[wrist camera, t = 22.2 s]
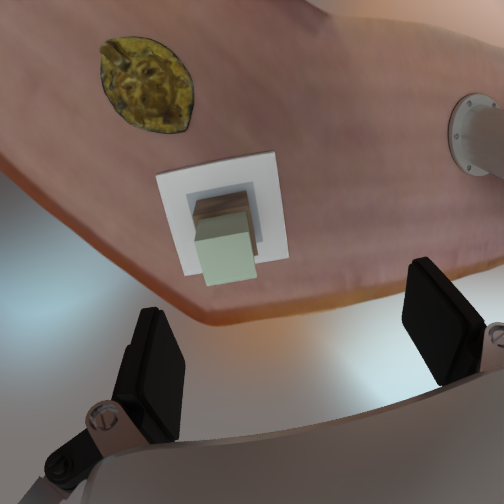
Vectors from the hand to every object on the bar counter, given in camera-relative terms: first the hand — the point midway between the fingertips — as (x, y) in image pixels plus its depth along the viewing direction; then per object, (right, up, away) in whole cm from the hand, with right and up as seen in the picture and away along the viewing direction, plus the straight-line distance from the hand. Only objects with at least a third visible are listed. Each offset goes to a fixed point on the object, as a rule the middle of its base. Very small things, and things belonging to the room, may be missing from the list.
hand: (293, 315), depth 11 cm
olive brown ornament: (-13, +22, +20) cm, 32 cm away
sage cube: (-4, +4, +23) cm, 24 cm away
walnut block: (-5, +6, +27) cm, 28 cm away
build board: (-5, +7, +28) cm, 29 cm away
